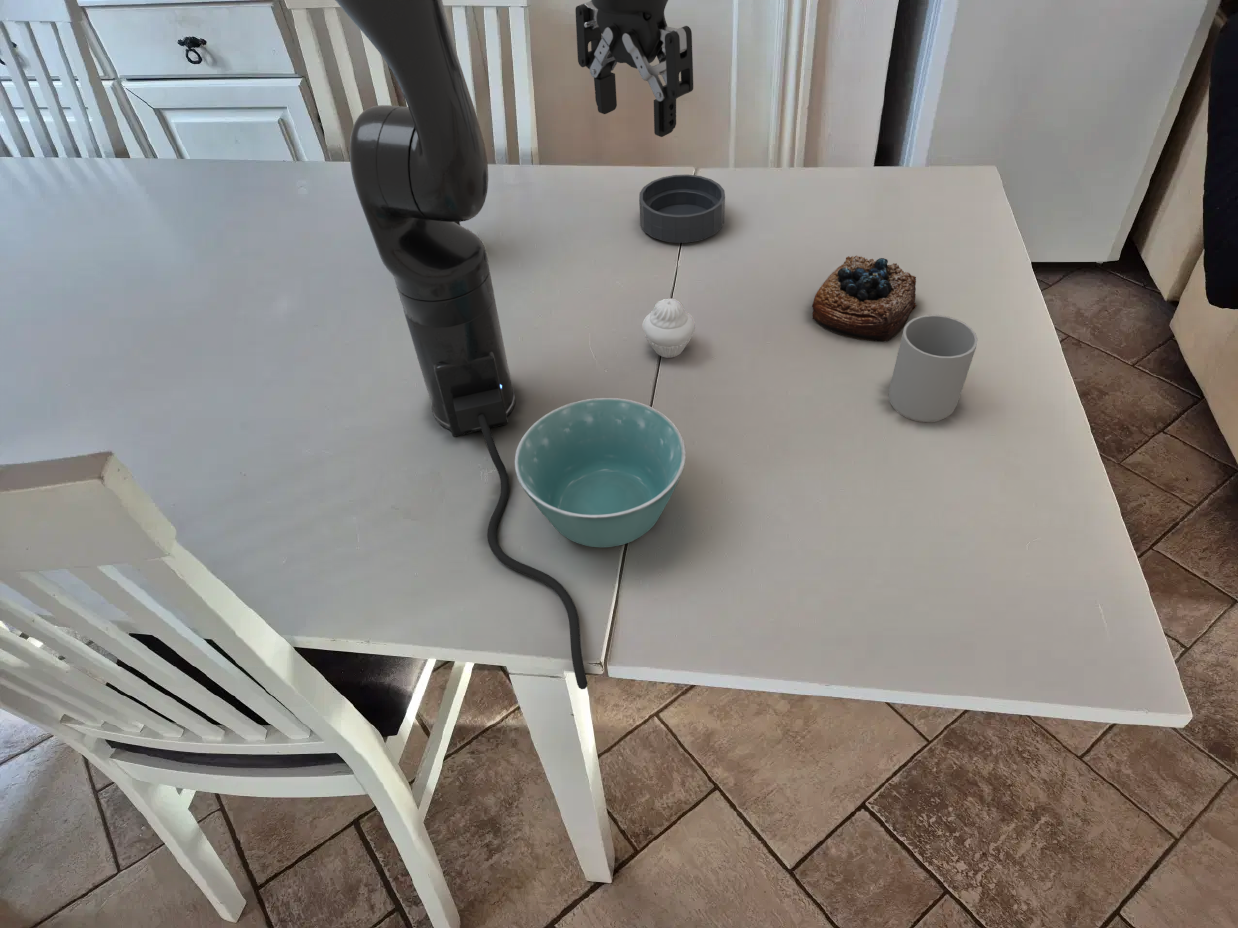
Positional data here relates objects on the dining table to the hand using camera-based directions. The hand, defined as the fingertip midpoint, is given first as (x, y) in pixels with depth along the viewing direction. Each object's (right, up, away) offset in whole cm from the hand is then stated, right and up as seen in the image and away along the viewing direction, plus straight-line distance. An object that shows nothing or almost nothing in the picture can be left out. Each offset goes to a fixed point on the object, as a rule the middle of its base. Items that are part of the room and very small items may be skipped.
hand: (635, 122), depth 86 cm
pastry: (+29, -17, +15) cm, 37 cm away
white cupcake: (+4, -23, +12) cm, 26 cm away
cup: (+32, -29, +4) cm, 43 cm away
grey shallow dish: (+7, -1, +31) cm, 32 cm away
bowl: (-3, -41, -5) cm, 41 cm away
